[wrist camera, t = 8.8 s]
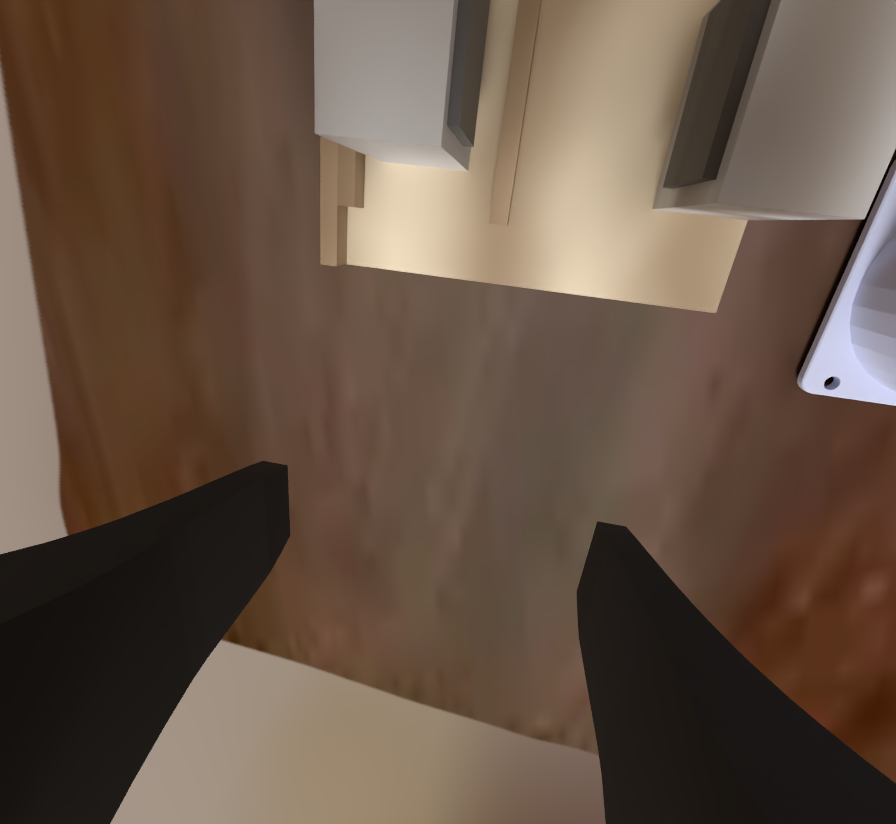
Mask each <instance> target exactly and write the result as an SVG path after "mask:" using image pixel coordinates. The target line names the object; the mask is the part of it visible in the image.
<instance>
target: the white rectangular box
mask: <svg viewBox="0 0 896 824" xmlns="http://www.w3.org/2000/svg"><path fill="white" fill-rule="evenodd" d="M489 8H490V0H314V72H315V134H317V135H320V136H322V137H324V138H327V139H329V140H331V141H334V142H336V143H339V144H341V145H343V146H346V147H348V148H350V149H353V150H355V151H357V152H360V153H362V154H365V155H367V156H369V157H372V158H374V159H376V160H379V161H381V162H387V163H396V164H405V165H414V166H423V167H433V168H442V169H451V170H460V171H468V169H469V161H470V152H471V147H474V139H475V130H476V122H477V113H478V104H479V95H480V87H481V78H482V69H483V60H484V52H485V43H486V34H487V25H488V17H489Z"/></svg>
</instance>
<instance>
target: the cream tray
mask: <svg viewBox="0 0 896 824" xmlns="http://www.w3.org/2000/svg"><path fill="white" fill-rule="evenodd" d="M895 149H896V0H490V8H489V17H488V25H487V34H486V43H485V52H484V60H483V69H482V78H481V87H480V95H479V104H478V113H477V122H476V130H475V139H474V147H471V152H470V161H469V169H468V171H460V170H451V169H442V168H433V167H423V166H414V165H405V164H396V163H387V162H381V161H379V160H376V159H374V158H372V157H369V156H367V155H365V154H362V153H360V152H357V151H355V150H353V149H350V148H348V147H346V146H343V145H341V144H339V143H336V142H334V141H331V140H329V139H327V138H324V137H322V136H320V226H321V264H323V265H330V266H340V265H345V264H350V265H358V266H365V267H373V268H380V269H388V270H395V271H403V272H410V273H418V274H425V275H433V276H440V277H448V278H456V279H463V280H471V281H478V282H486V283H493V284H501V285H508V286H516V287H523V288H531V289H538V290H546V291H553V292H561V293H568V294H576V295H583V296H591V297H598V298H606V299H613V300H621V301H628V302H636V303H644V304H651V305H659V306H666V307H674V308H681V309H689V310H696V311H704V312H711V313H716V311H717V308H718V305H719V302H720V299H721V296H722V293H723V290H724V288H725V285H726V282H727V279H728V276H729V273H730V270H731V267H732V264H733V261H734V259H735V256H736V253H737V250H738V247H739V244H740V241H741V238H742V235H743V233H744V230H745V227H746V224H747V221H748V220H834V219H865V217H866V215H867V213H868V210H869V208H870V206H871V203H872V201H873V199H874V197H875V194H876V192H877V190H878V188H879V185H880V183H881V181H882V178H883V176H884V174H885V172H886V169H887V167H888V165H889V163H890V160H891V158H892V156H893V153H894V151H895Z"/></svg>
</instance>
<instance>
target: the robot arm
mask: <svg viewBox="0 0 896 824" xmlns="http://www.w3.org/2000/svg"><path fill="white" fill-rule="evenodd" d="M830 377H834V380H833V382H832V383H831V384H830V385H828V386H824V382H825V381H826V379H828V378H830ZM797 382H798V386H799V387H800V388H801V389H803V390H805V391H806V392H809V393H813V394H820V395H827V396H833V397H840V398H847V399H854V400H861V401H867V402H874V403H881V404H888V405H895V406H896V160H895V161H894V163H893V164H892V166H891V168H890V170H889V172H888V174H887V177H886V179H885V181H884V183H883V186H882V188H881V190H880V192H879V195H878V197H877V199H876V201H875V204H874V206H873V208H872V210H871V213H870V215H869V217H868V220H867V222H866V224H865V226H864V229H863V231H862V233H861V235H860V238H859V240H858V242H857V244H856V247H855V249H854V251H853V253H852V256H851V258H850V260H849V262H848V265H847V267H846V269H845V271H844V274H843V276H842V278H841V281H840V283H839V285H838V287H837V290H836V292H835V294H834V296H833V299H832V301H831V303H830V305H829V308H828V310H827V312H826V314H825V317H824V319H823V321H822V323H821V326H820V328H819V330H818V332H817V335H816V337H815V339H814V342H813V344H812V346H811V348H810V351H809V353H808V355H807V357H806V360H805V362H804V364H803V366H802V369H801V371H800V373H799V375H798V379H797ZM289 537H290V520H289V494H288V468H287V465H282V464H277V463H271V462H266V461H262V462H259V463H256V464H253V465H250V466H248V467H245V468H243V469H240V470H238V471H236V472H233V473H231V474H228V475H226V476H224V477H222V478H219V479H217V480H215V481H212V482H210V483H208V484H205V485H203V486H201V487H198V488H196V489H194V490H191V491H189V492H186V493H184V494H182V495H179V496H177V497H175V498H172V499H170V500H167V501H164V502H162V503H159V504H157V505H154V506H152V507H149V508H147V509H144V510H141V511H139V512H136V513H134V514H131V515H129V516H126V517H123V518H121V519H118V520H115V521H112V522H109V523H106V524H104V525H101V526H98V527H95V528H92V529H89V530H85V531H82V532H79V533H76V534H73V535H69V536H66V537H63V538H60V539H56V540H53V541H50V542H46V543H43V544H39V545H35V546H31V547H27V548H23V549H20V550H16V551H12V552H8V553H4V554H0V824H110V823H111V821H112V819H113V817H114V815H115V814H116V812H117V810H118V808H119V806H120V804H121V802H122V801H123V799H124V797H125V795H126V793H127V791H128V789H129V787H130V786H131V784H132V782H133V780H134V779H135V777H136V775H137V773H138V772H139V770H140V768H141V766H142V765H143V763H144V761H145V759H146V758H147V756H148V754H149V752H150V751H151V749H152V747H153V745H154V744H155V742H156V740H157V739H158V737H159V735H160V733H161V732H162V730H163V728H164V726H165V725H166V723H167V721H168V720H169V718H170V716H171V715H172V713H173V711H174V710H175V708H176V706H177V705H178V703H179V701H180V700H181V698H182V697H183V695H184V693H185V692H186V690H187V688H188V686H189V685H190V683H191V682H192V680H193V678H194V677H195V675H196V674H197V672H198V671H199V670H200V668H201V667H202V665H203V664H204V662H205V661H206V659H207V658H208V657H209V655H210V654H211V652H212V651H213V650H214V648H215V647H216V646H217V644H218V643H219V642H220V640H221V639H222V638H223V636H224V635H225V633H226V632H227V631H228V629H229V628H230V627H231V625H232V624H233V623H234V621H235V620H236V619H237V617H238V616H239V614H240V613H241V612H242V610H243V609H244V608H245V606H246V605H247V604H248V602H249V601H250V599H251V598H252V597H253V595H254V594H255V593H256V591H257V590H258V588H259V587H260V586H261V584H262V583H263V582H264V580H265V579H266V577H267V576H268V574H269V573H270V571H271V570H272V568H273V566H274V564H275V563H276V561H277V559H278V557H279V556H280V554H281V552H282V550H283V548H284V546H285V544H286V542H287V540H288V538H289ZM577 612H578V630H579V640H580V647H581V653H582V658H583V664H584V670H585V676H586V682H587V688H588V693H589V699H590V705H591V710H592V716H593V722H594V727H595V733H596V739H597V745H598V751H599V758H600V766H601V773H602V783H603V795H604V807H605V819H606V824H896V783H894V782H893V781H892V780H890V779H889V778H888V777H886V776H885V775H884V774H883V773H881V772H880V771H879V770H877V769H876V768H875V767H873V766H872V765H871V764H869V763H868V762H867V761H866V760H864V759H863V758H862V757H860V756H859V755H858V754H857V753H855V752H854V751H853V750H852V749H850V748H849V747H848V746H847V745H846V744H844V743H843V742H842V741H841V740H839V739H838V738H837V737H836V736H834V735H833V734H832V733H831V732H830V731H828V730H827V729H826V728H825V727H823V726H822V725H821V724H820V723H818V722H817V721H816V720H815V719H813V718H812V717H811V716H810V715H809V714H808V713H806V712H805V711H804V710H803V709H802V708H800V707H799V706H798V705H797V704H796V703H795V702H793V701H792V700H791V699H790V698H789V697H788V696H787V695H785V694H784V693H783V692H782V691H781V690H780V689H779V688H778V687H777V686H776V685H774V684H773V683H772V682H771V681H770V680H769V679H768V678H767V677H766V676H764V675H763V674H762V673H761V672H760V671H759V670H758V669H757V668H756V667H755V666H753V665H752V664H751V663H750V662H749V661H748V660H747V659H746V658H745V657H744V656H743V655H742V654H741V653H740V652H739V651H738V650H737V649H736V648H735V647H734V646H733V645H732V644H731V643H730V642H729V641H728V640H727V639H726V638H725V637H724V636H723V635H722V634H721V633H720V632H719V631H718V630H717V629H716V628H715V627H714V626H713V625H712V624H711V623H710V622H709V621H708V620H707V619H706V618H705V617H704V616H703V615H702V613H701V612H700V611H699V610H698V609H697V608H696V607H695V606H694V605H693V604H692V603H691V602H690V600H689V599H688V598H687V597H686V596H685V595H684V594H683V593H682V592H681V590H680V589H679V588H678V587H677V586H676V585H675V584H674V582H673V581H672V580H671V579H670V578H669V577H668V575H667V574H666V573H665V572H664V571H663V570H662V568H661V567H660V566H659V565H658V564H657V563H656V561H655V560H654V559H653V558H652V557H651V555H650V554H649V553H648V552H647V551H646V549H645V548H644V547H643V546H642V545H641V543H640V542H639V541H638V540H637V539H636V538H635V536H634V535H633V534H632V533H631V532H630V531H629V530H628V528H627V527H625V526H619V525H614V524H608V523H603V522H597V525H596V528H595V531H594V535H593V538H592V542H591V545H590V548H589V552H588V555H587V559H586V562H585V565H584V569H583V572H582V576H581V579H580V582H579V586H578V589H577Z"/></svg>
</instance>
